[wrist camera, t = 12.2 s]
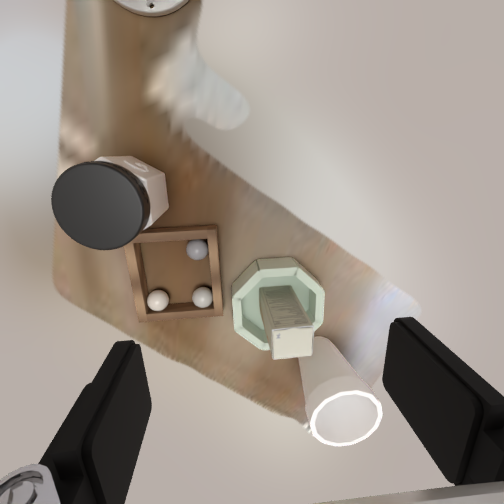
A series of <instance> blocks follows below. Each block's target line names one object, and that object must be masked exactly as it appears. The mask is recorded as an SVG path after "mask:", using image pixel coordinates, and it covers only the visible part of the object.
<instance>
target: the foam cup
mask: <svg viewBox="0 0 504 504" xmlns="http://www.w3.org/2000/svg"><path fill="white" fill-rule="evenodd" d="M298 360H299V366H300V372H301V378H302V384H303V390H304V397H305V403H306V406H305V410H306V414H307V417H308V420H309V424H310V427H311V430H312V433H313V436H314V437H316V438H317V439H318V440H319V441H320V442H322V443H323V444H328V445H332V446H336V447H338V446H346V445H353V444H355V443H357V442H359V441H361V440H364V439H366V438H367V437H368V436H369V435H370V434H371V433H372V432H374V431H375V430H376V429H377V428H378V426H379V423H380V421H381V418H382V416H383V414H382V407H381V403H380V401H379V400H378V398H377V396H376V395H375V393H374V392H373V390H372V388H371V387H370V386H369V385H368V384H367V383H366V382H365V381H364V380H362V378H361V377H360V376H359V375H358V374H357V372H356V371H355V370H354V369H353V367H352V366H351V365H350V364H349V363H348V361H347V360H346V359H345V358H344V356H343V355H342V354H341V353H340V351H339V350H338V349H337V348H336V347H335V345H334V344H333V343H332V342H331V341H330V340H329V339H328V338H325V337H322V336H317V337H314V339H313V351H312V356H304V357H298Z"/></svg>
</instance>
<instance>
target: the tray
mask: <svg viewBox="0 0 504 504" xmlns="http://www.w3.org/2000/svg"><path fill="white" fill-rule="evenodd" d="M195 239H208V248H209V259H210V270H211V281H212V291H213V301H212V303H211V304H210V305H209V306H208V307H205V308H200V307H198V306H196V305H195V304H194V302H191V303H178V304H168V305H167V307H166V308H165V309H163V310H161V311H154V310H152V309H150V308H149V306H148V304H147V298H148V296H149V294H148V288H147V283H146V277H145V271H144V266H143V260H142V254H141V249H140V243H145V242H162V241H178V240H195ZM124 249H125V254H126V259H127V264H128V269H129V274H130V280H131V285H132V290H133V295H134V300H135V305H136V310H137V315H138V320H139V322H150V321H163V320H175V319H188V318H201V317H213V316H223V298H222V286H221V273H220V261H219V248H218V236H217V225H205V226H188V227H170V228H152V229H144V230H143V231H142V232H141V233H140V234H139V235H138V236H137V237H136V238H134V239H133V240H132V241H131V242H130V243H128V244H127V245H125V246H124Z"/></svg>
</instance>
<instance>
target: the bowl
mask: <svg viewBox="0 0 504 504" xmlns="http://www.w3.org/2000/svg"><path fill="white" fill-rule="evenodd" d="M285 285H291V286H292V288H293V290H294V292H295V293H296V295H297V297H298V299H299V301H300V303H301V304H302V306H303V308H304V310H305V312H306V313H307V315H308V317H309V319H310V321H311V322H312V324H313V326H314V331H315V330H316V329H317V328H319V327H320V326H321V325H322V323H323V314H324V296H325V291H324V289H323V288H322V286H321V285H320V283H319V282H318V281H317V279H316V278H315V277H314V276H313V275H312V274H311V273H309V272H308V271H307V270H306V269H305V268H304V267H303V266H302V265H300V264H299V263H298V262H297V261H296V260H295V259H294V258H291V257H283V258H268V259H257V261H256V260H255V261H254V262H253V263H252V264H251V265H250V266H249V267H248V268H247V269H246V270H245V271H244V272H243V273H242V274H241V275H240V276H239V277H238V278H237V279H236V280H235V282H234V283H233V284H232V304H233V319H234V330H235V332H237V333H238V334H239V335H241V336H242V337H244V338H245V339H246V340H248V341H249V342H250V343H252V344H253V345H255V346H256V347H257V348H259V349H260V350H261V349H262V350H270V348H269V344H268V340H267V336H266V333H265V329H264V325H263V321H262V318H261V314H260V307H259V288H262V287H272V286H285Z"/></svg>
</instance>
